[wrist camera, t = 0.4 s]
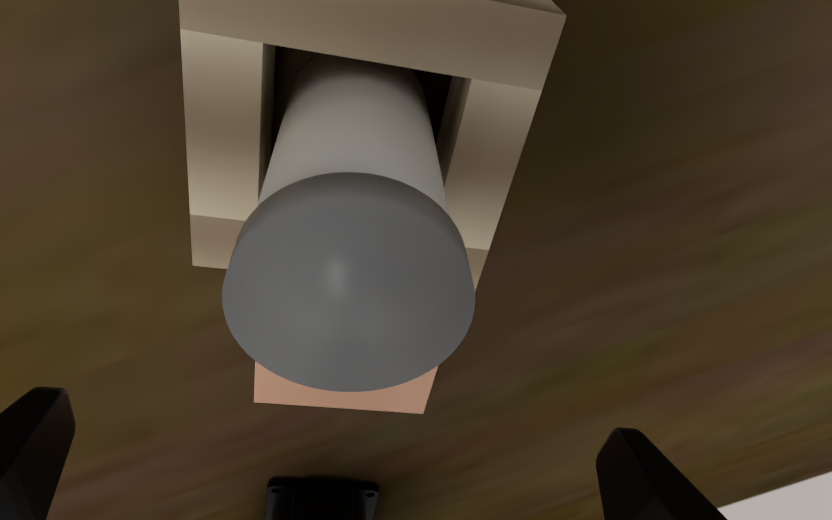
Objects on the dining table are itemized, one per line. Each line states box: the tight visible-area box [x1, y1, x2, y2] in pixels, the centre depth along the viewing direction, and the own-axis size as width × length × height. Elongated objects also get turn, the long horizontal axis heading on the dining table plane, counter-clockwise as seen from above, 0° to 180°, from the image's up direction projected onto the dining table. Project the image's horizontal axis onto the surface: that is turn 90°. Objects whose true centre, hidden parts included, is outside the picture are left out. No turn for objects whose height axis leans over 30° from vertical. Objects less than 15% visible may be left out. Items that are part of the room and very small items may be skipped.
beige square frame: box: [179, 0, 567, 291], centre depth 19 cm, size 10×10×3 cm
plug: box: [222, 53, 475, 392], centre depth 16 cm, size 5×5×10 cm
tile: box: [254, 361, 438, 414], centre depth 25 cm, size 8×8×2 cm
